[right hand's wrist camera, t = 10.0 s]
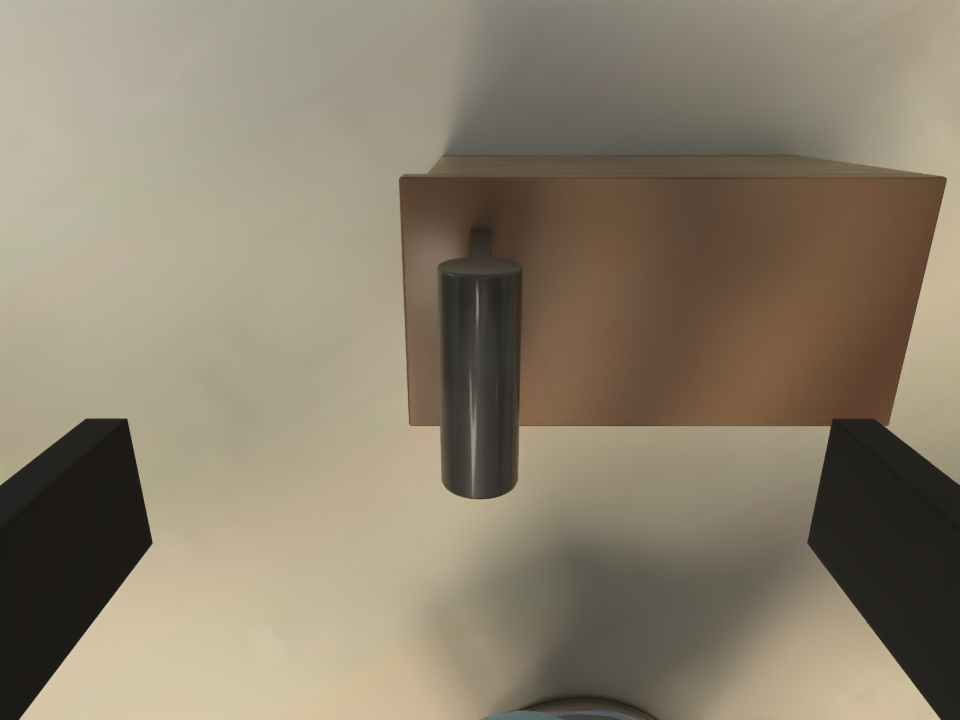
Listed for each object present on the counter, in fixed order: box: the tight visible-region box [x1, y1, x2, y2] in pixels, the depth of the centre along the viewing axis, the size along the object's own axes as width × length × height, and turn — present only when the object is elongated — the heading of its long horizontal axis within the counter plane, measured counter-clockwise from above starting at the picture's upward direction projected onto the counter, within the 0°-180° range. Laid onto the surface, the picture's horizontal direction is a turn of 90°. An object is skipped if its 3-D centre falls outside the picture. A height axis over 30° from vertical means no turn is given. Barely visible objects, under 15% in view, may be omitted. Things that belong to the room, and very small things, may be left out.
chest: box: [428, 155, 922, 174], centre depth 30 cm, size 17×9×10 cm, turn 90°
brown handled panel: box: [399, 174, 947, 499], centre depth 21 cm, size 18×9×9 cm, turn 90°
